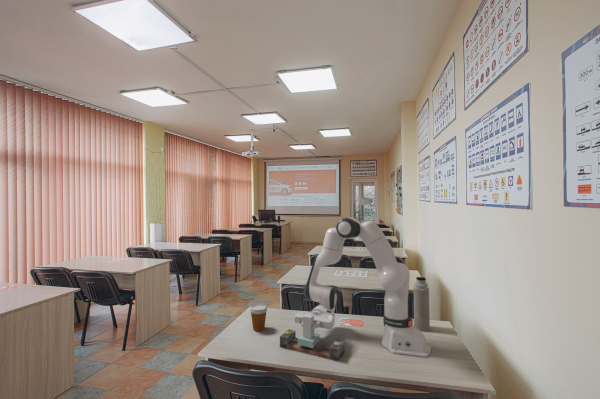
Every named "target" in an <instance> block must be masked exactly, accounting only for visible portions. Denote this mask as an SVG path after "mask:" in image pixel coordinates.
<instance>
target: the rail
mask: <svg viewBox="0 0 600 399" xmlns="http://www.w3.org/2000/svg"><path fill="white" fill-rule="evenodd" d="M296 336H297V334H296V330H293V329H290V328H289V329H287V330H286V331H284V333H282V334H281V335H280V336H279V347H280V348H283V349H286V350H287V349H288V350H292V351H296V352H299V353H303V354H308V355H311V356H315V357H320V358H324V359H328V360H332V361H336V362H339V361H340V360H341V358H342V356H343V355H344V354H345V350H346V349H345V345H346V344H345V340H341V339H337V338H336V339H335V341H333V343H332V344H331V345H330V344H325V343H321V342H318V343H317V344H316V345H315V347H314V348H310V347H305V346H301V345H298V337H296Z"/></svg>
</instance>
